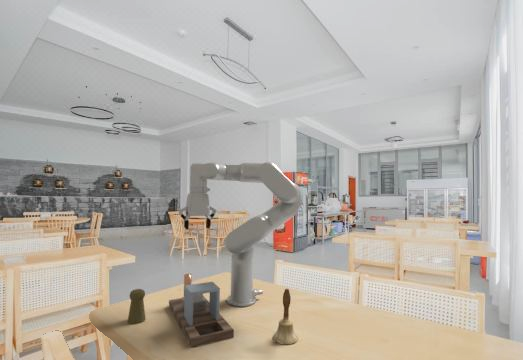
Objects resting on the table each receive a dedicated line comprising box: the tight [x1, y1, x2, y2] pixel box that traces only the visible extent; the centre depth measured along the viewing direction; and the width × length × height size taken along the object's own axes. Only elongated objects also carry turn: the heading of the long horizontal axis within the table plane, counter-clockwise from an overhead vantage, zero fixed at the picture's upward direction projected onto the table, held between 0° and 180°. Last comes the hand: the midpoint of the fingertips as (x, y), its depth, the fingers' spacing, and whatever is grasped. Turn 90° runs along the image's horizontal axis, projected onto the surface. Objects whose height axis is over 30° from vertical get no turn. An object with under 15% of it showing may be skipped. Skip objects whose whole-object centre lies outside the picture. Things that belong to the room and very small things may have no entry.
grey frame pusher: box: [181, 273, 206, 311], centre depth 117 cm, size 15×7×10 cm, turn 28°
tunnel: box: [183, 281, 221, 326], centre depth 105 cm, size 8×10×11 cm
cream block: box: [193, 294, 204, 311], centre depth 113 cm, size 5×5×6 cm
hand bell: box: [272, 288, 299, 345], centre depth 97 cm, size 8×8×16 cm
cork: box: [127, 288, 146, 325], centre depth 108 cm, size 6×6×11 cm
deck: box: [168, 295, 235, 348], centre depth 109 cm, size 35×14×2 cm, turn 28°
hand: (197, 228), depth 133 cm, fingers open, 9 cm apart
